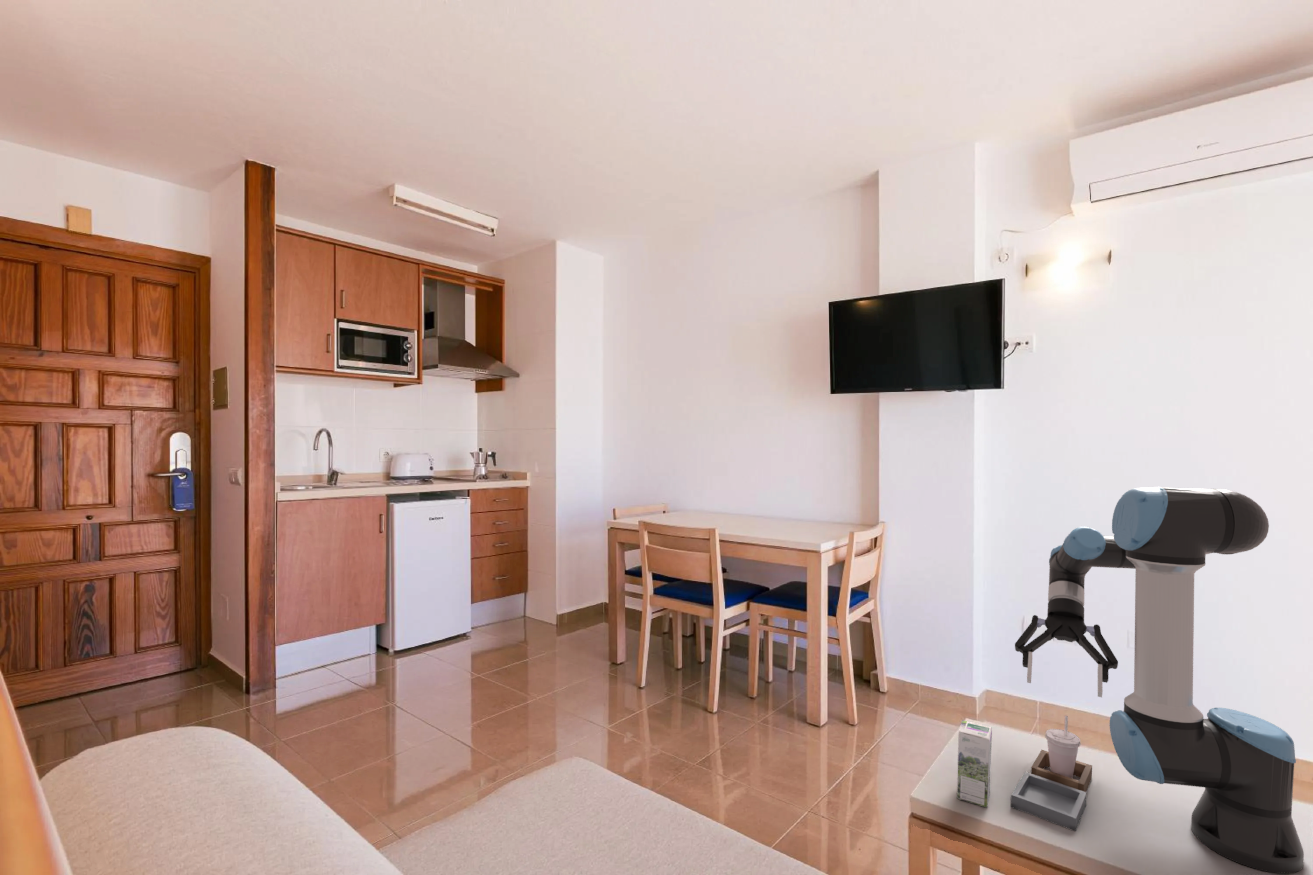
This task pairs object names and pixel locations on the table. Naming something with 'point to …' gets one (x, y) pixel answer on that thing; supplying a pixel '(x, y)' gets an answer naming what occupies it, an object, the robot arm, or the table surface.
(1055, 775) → the collar
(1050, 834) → the table surface
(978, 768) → the syrup box
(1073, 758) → the smoothie
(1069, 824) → the tray
